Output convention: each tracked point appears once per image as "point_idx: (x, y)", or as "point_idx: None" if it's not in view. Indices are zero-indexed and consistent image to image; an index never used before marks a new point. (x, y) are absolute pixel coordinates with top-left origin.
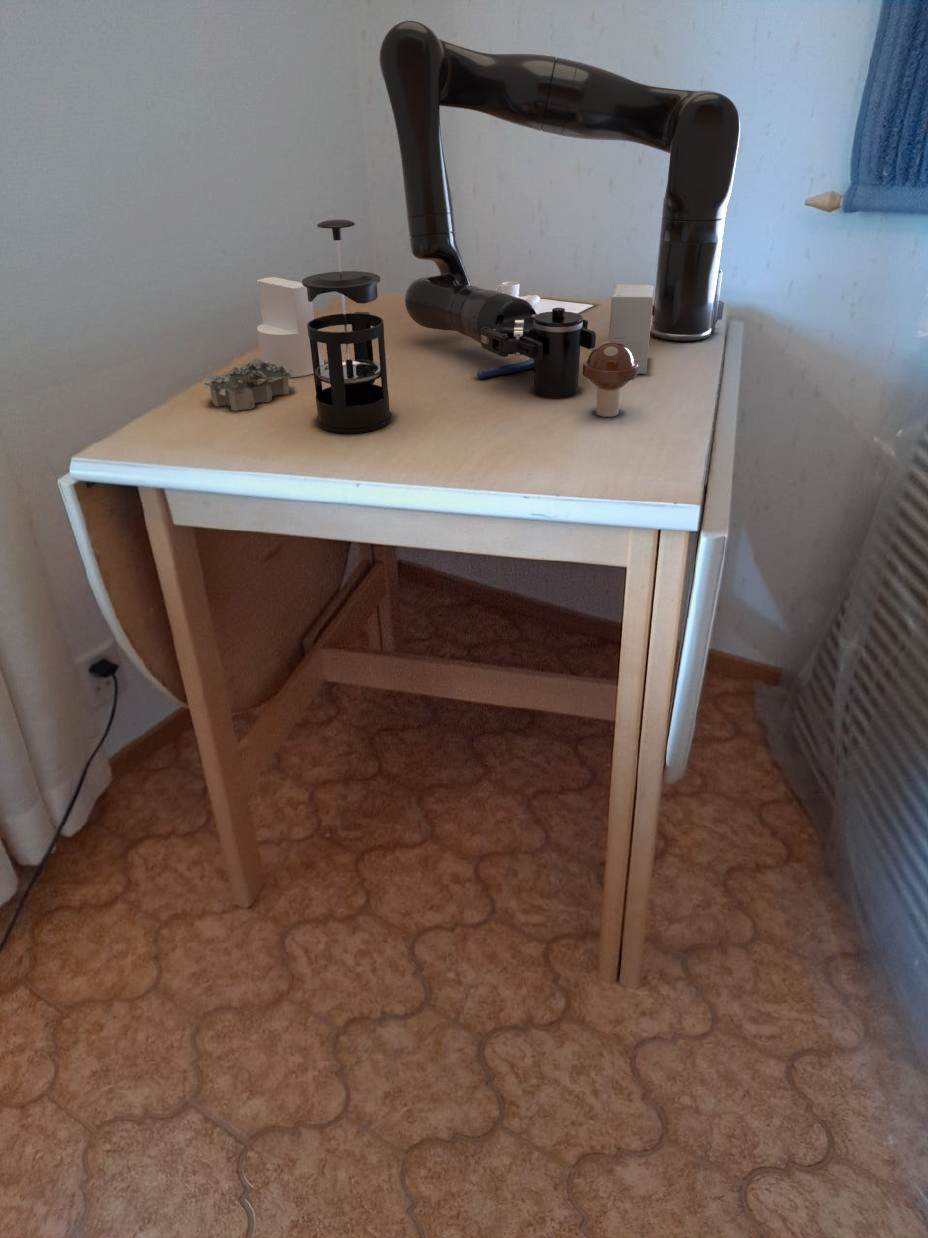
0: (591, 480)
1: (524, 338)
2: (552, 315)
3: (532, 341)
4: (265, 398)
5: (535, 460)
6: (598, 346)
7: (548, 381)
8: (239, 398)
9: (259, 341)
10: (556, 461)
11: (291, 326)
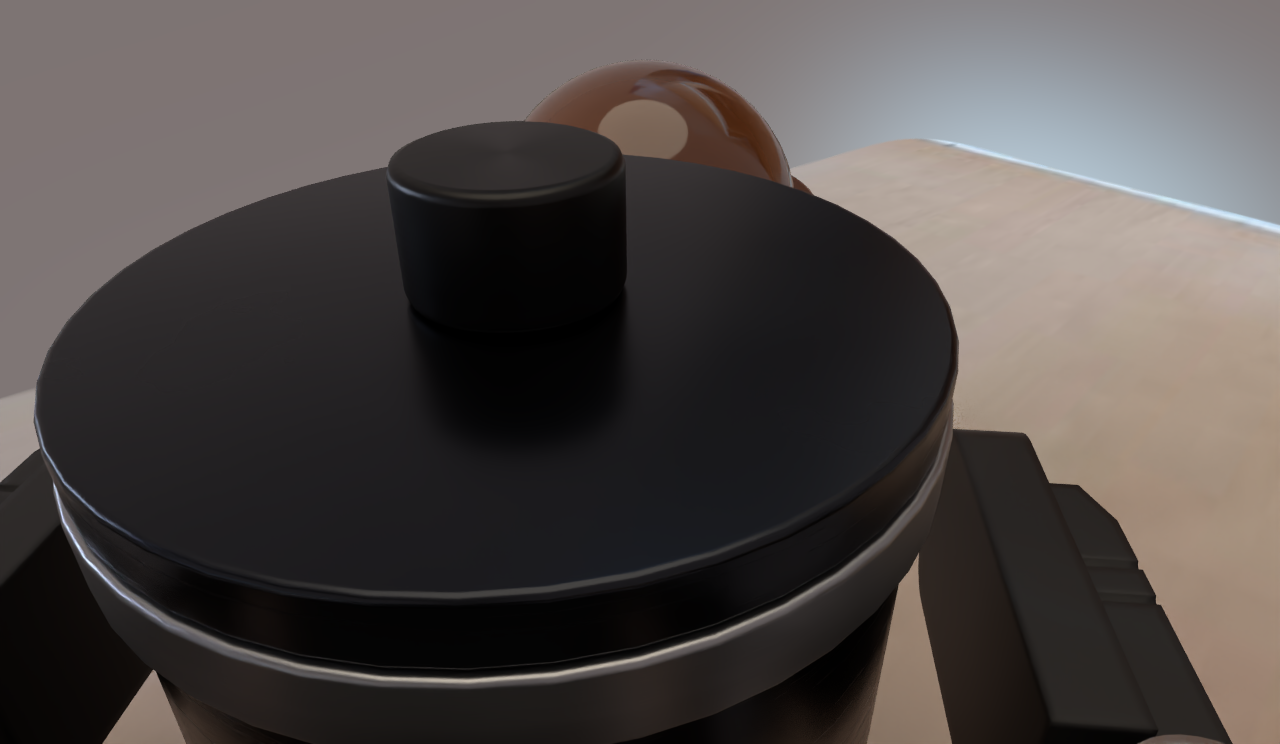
0: (1097, 228)
1: (1124, 665)
2: (618, 273)
3: (1056, 502)
4: None
5: (1250, 340)
6: (715, 109)
7: None
8: None
9: None
10: (1163, 311)
11: None
